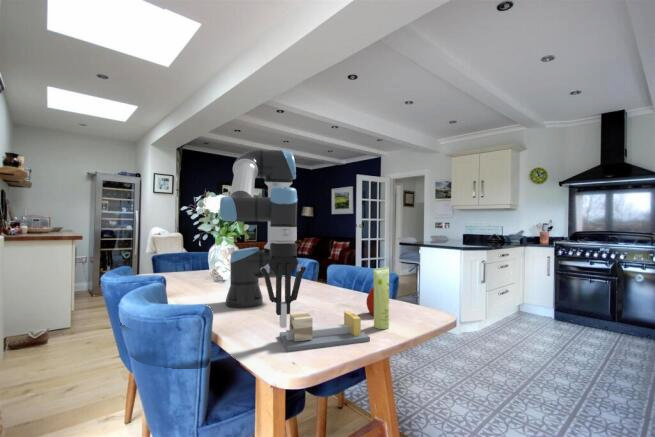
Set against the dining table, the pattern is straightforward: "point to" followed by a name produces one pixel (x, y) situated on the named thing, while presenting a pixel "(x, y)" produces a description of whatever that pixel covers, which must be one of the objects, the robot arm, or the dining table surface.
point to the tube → (381, 298)
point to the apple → (370, 301)
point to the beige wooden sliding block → (301, 326)
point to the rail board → (328, 335)
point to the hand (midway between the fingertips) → (283, 326)
